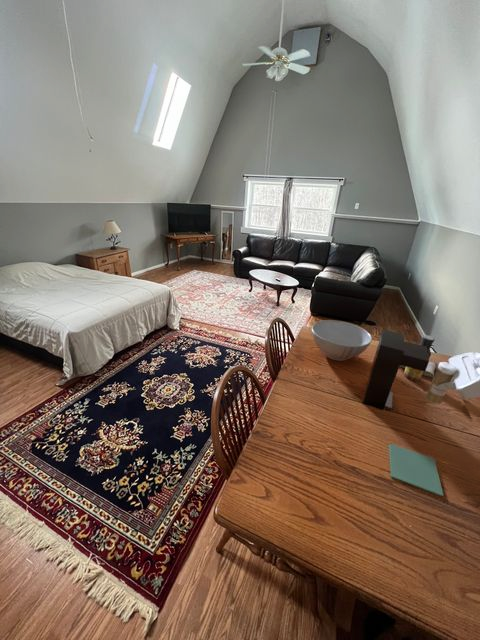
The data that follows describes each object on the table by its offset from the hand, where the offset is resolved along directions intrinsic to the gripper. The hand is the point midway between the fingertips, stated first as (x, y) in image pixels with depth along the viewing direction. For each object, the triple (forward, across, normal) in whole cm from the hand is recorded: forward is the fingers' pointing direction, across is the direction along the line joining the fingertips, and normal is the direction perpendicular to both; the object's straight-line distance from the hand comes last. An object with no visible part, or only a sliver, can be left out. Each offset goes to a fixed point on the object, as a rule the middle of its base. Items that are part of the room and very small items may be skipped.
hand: (438, 382), depth 86 cm
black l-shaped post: (+20, -5, +3) cm, 21 cm away
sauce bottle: (+13, -28, +10) cm, 32 cm away
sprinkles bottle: (+5, 0, +5) cm, 7 cm away
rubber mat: (+14, +23, +10) cm, 28 cm away
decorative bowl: (+36, -28, -13) cm, 48 cm away
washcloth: (+13, -39, +10) cm, 42 cm away
